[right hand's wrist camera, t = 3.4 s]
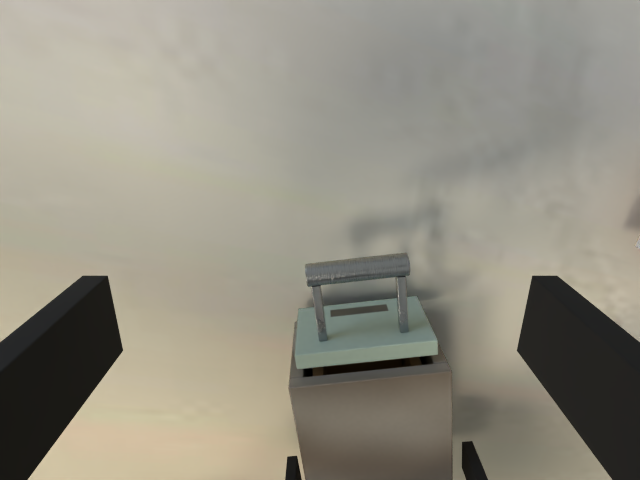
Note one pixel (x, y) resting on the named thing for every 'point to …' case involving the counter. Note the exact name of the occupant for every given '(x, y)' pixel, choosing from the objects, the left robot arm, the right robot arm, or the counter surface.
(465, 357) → the counter surface
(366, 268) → the drawer
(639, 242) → the toy
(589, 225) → the counter surface
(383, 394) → the cabinet
